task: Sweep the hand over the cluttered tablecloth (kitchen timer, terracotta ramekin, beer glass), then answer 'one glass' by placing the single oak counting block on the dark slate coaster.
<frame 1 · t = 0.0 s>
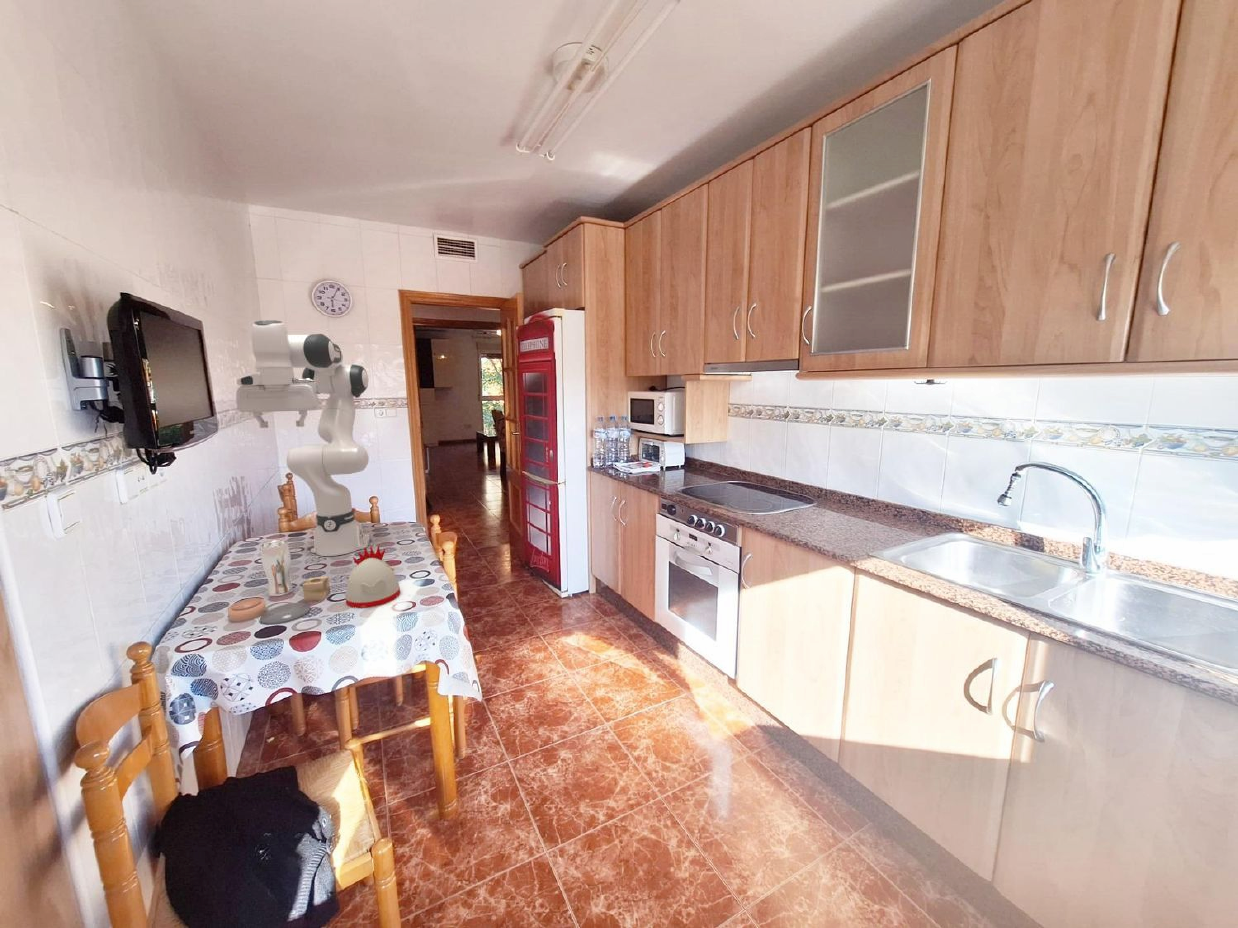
hand: (282, 427, 142), 48 cm above the table, fingers open, 8 cm apart
coaster: (286, 614, 131), on the table
oak block: (317, 596, 141), on the table
beer glass: (281, 592, 145), on the table
kitchen timer: (373, 597, 140), on the table
ramekin: (248, 615, 131), on the table
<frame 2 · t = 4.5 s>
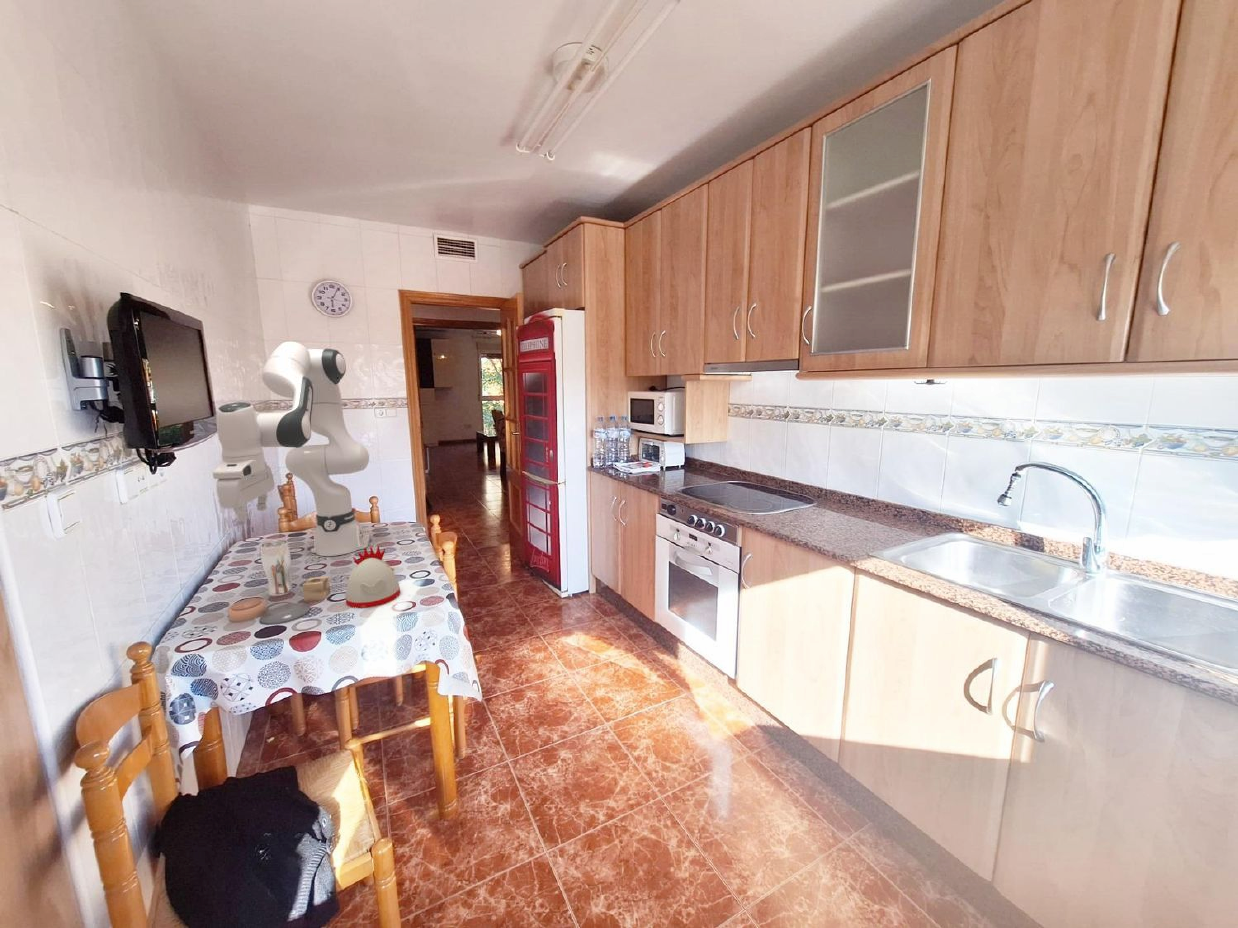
hand: (253, 515, 133), 26 cm above the table, fingers open, 8 cm apart
nothing on the table moved.
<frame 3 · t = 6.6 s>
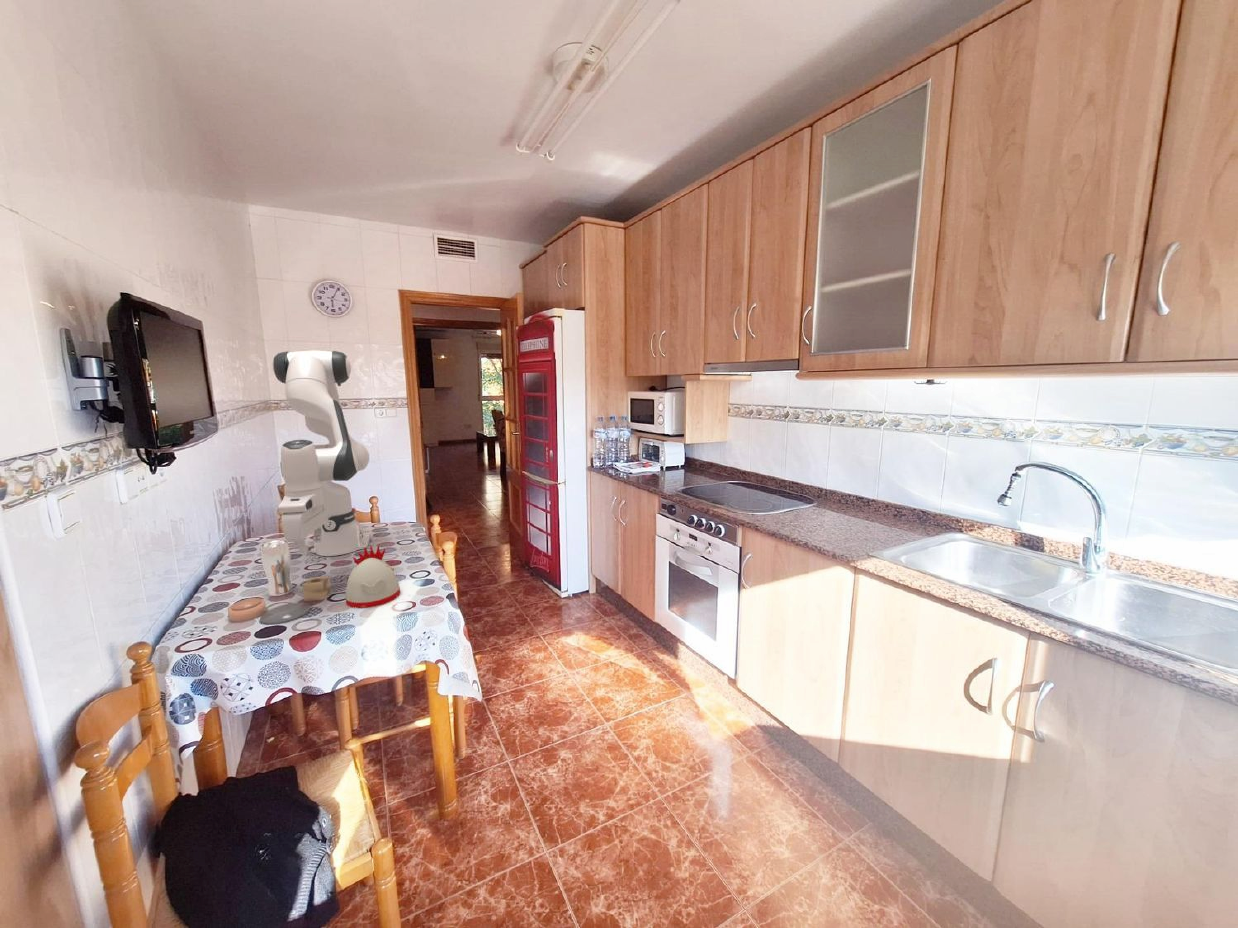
hand: (311, 547, 138), 15 cm above the table, fingers open, 8 cm apart
nothing on the table moved.
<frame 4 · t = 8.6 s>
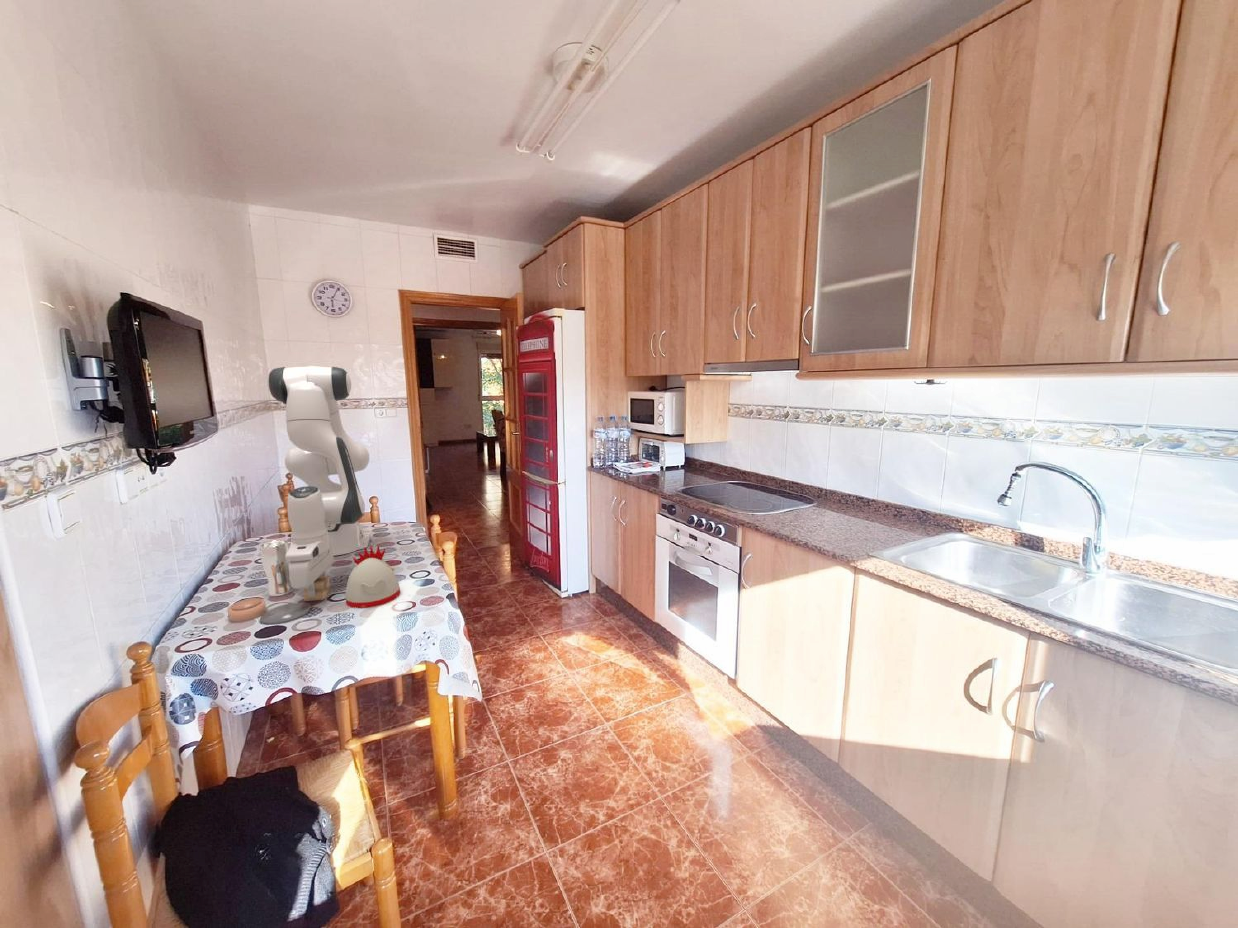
hand: (317, 590, 141), 2 cm above the table, fingers closed on oak block, 5 cm apart
oak block: (317, 596, 141), on the table, touching gripper
everything else where it was.
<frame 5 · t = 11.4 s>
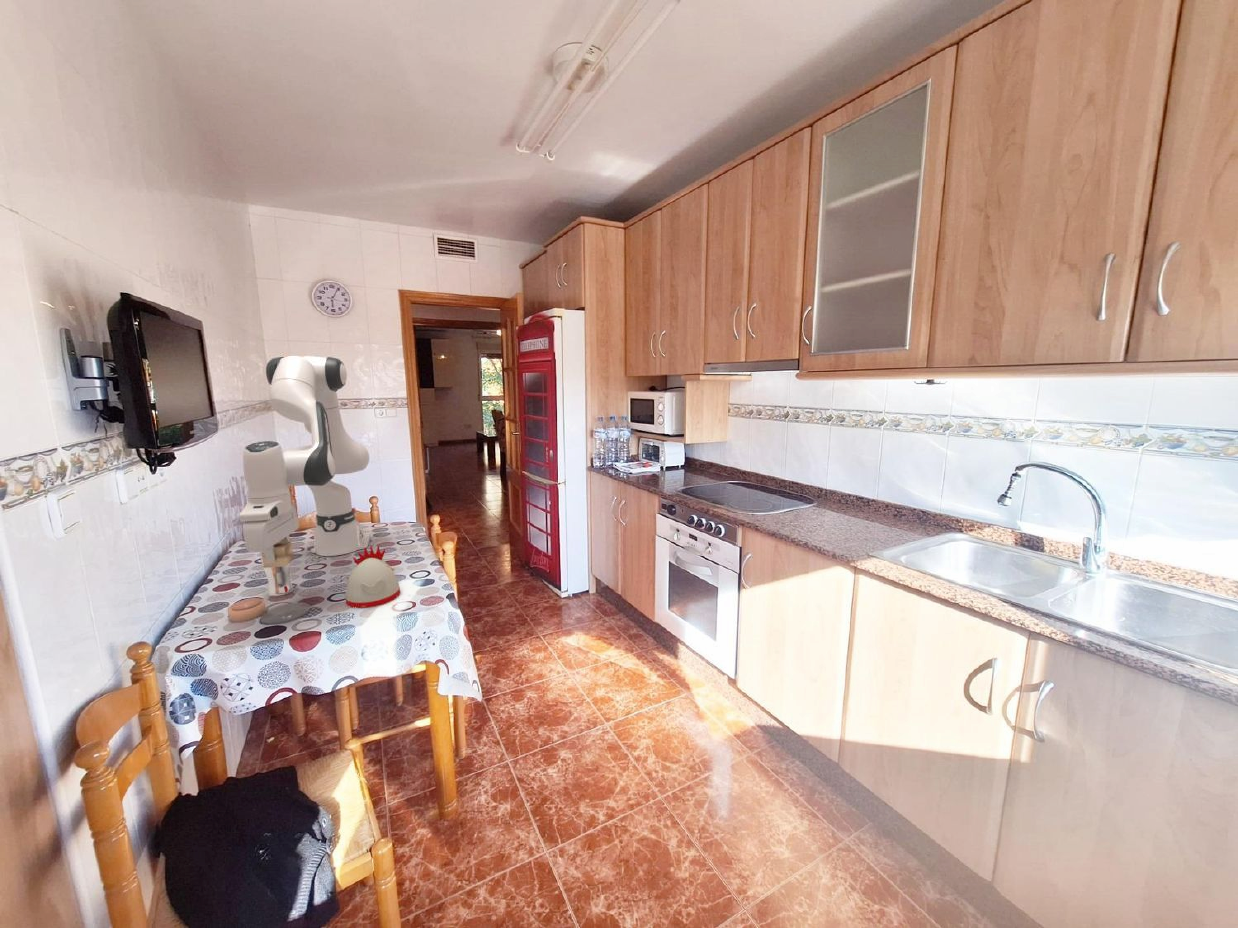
hand: (278, 557, 128), 16 cm above the table, fingers closed on oak block, 5 cm apart
oak block: (279, 563, 128), point 14 cm above the table, touching gripper
everything else where it was.
when the fingers open (4 cm above the table, at t = 14.2 s): oak block drops 2 cm, resting on coaster.
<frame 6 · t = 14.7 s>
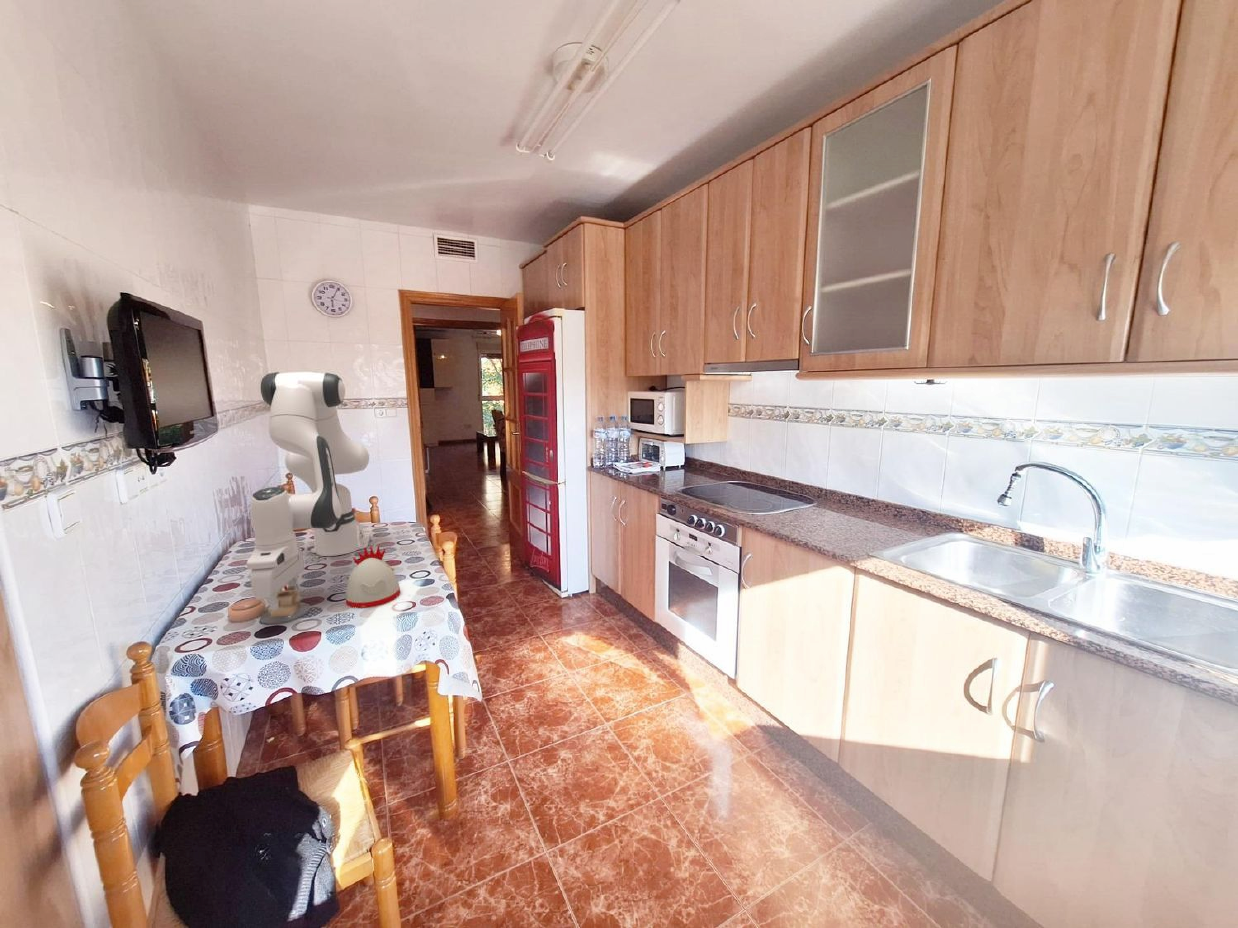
hand: (284, 600, 130), 4 cm above the table, fingers open, 8 cm apart
oak block: (286, 611, 131), point 1 cm above the table, touching coaster
everything else where it was.
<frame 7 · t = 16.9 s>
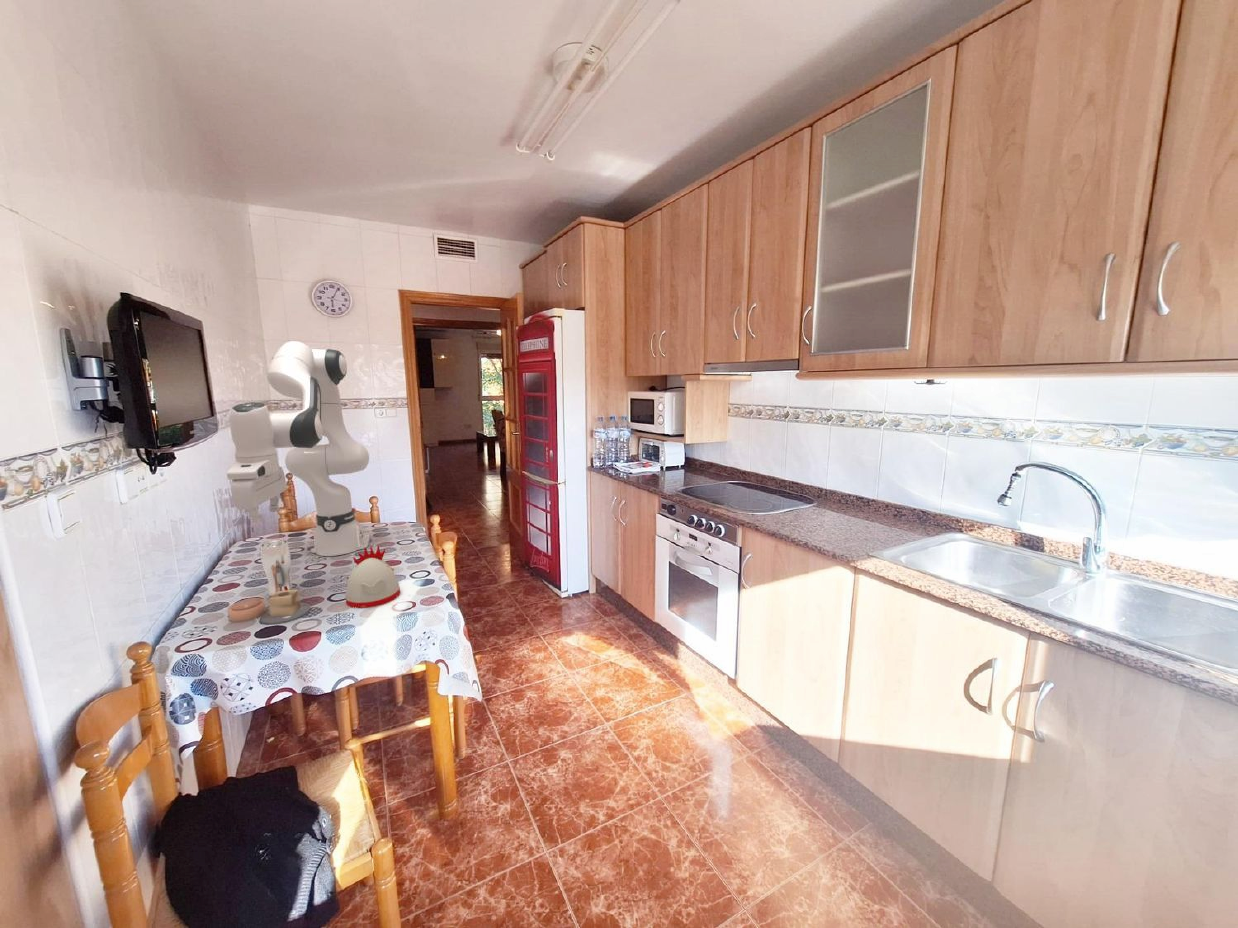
hand: (266, 516, 131), 26 cm above the table, fingers open, 8 cm apart
nothing on the table moved.
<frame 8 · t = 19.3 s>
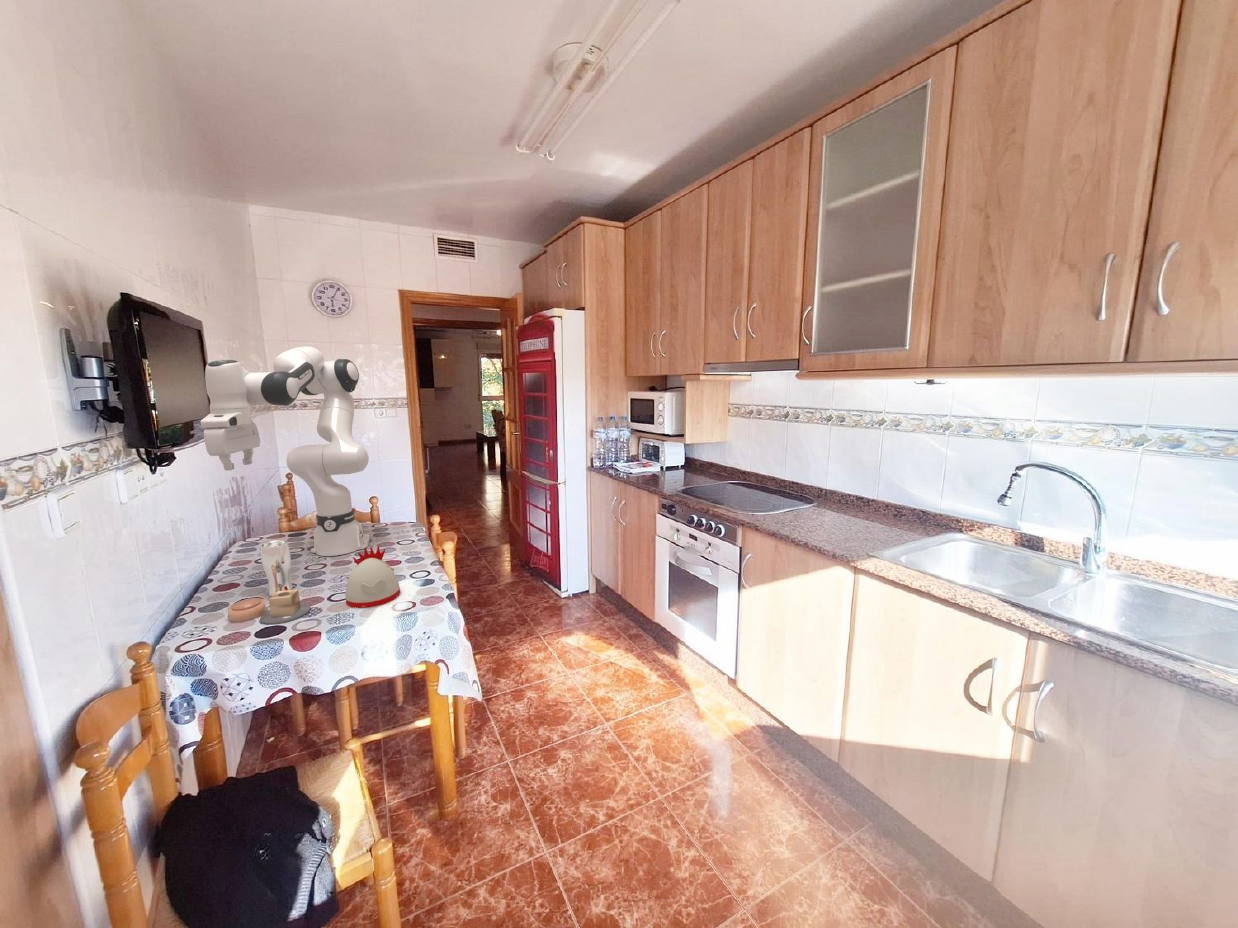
hand: (239, 467, 140), 37 cm above the table, fingers open, 8 cm apart
nothing on the table moved.
at the end: oak block inside the target area on the coaster (0.1 cm from its centre), point 0.6 cm above the coaster's base; the gripper is holding nothing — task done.
